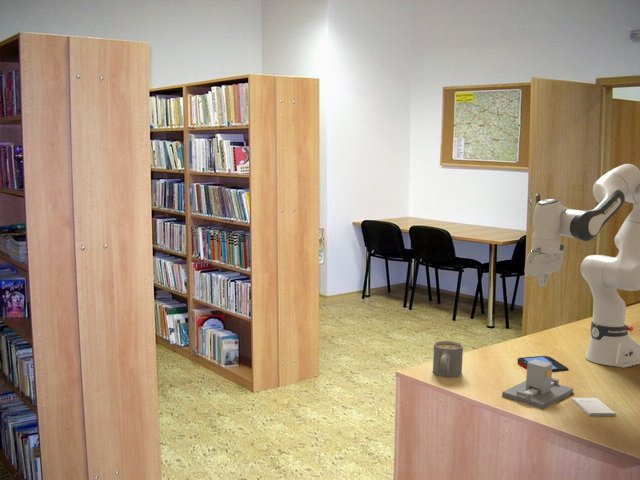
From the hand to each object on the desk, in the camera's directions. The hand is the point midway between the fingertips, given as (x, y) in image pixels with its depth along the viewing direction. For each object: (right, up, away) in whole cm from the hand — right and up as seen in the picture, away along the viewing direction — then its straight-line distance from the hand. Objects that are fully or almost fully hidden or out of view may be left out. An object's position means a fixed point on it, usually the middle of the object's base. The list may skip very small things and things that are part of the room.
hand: (542, 286), depth 234 cm
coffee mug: (-33, -31, +1) cm, 46 cm away
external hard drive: (+7, -36, -27) cm, 46 cm away
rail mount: (-7, -34, -17) cm, 38 cm away
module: (-7, -32, -17) cm, 37 cm away
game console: (+3, -31, +11) cm, 33 cm away
